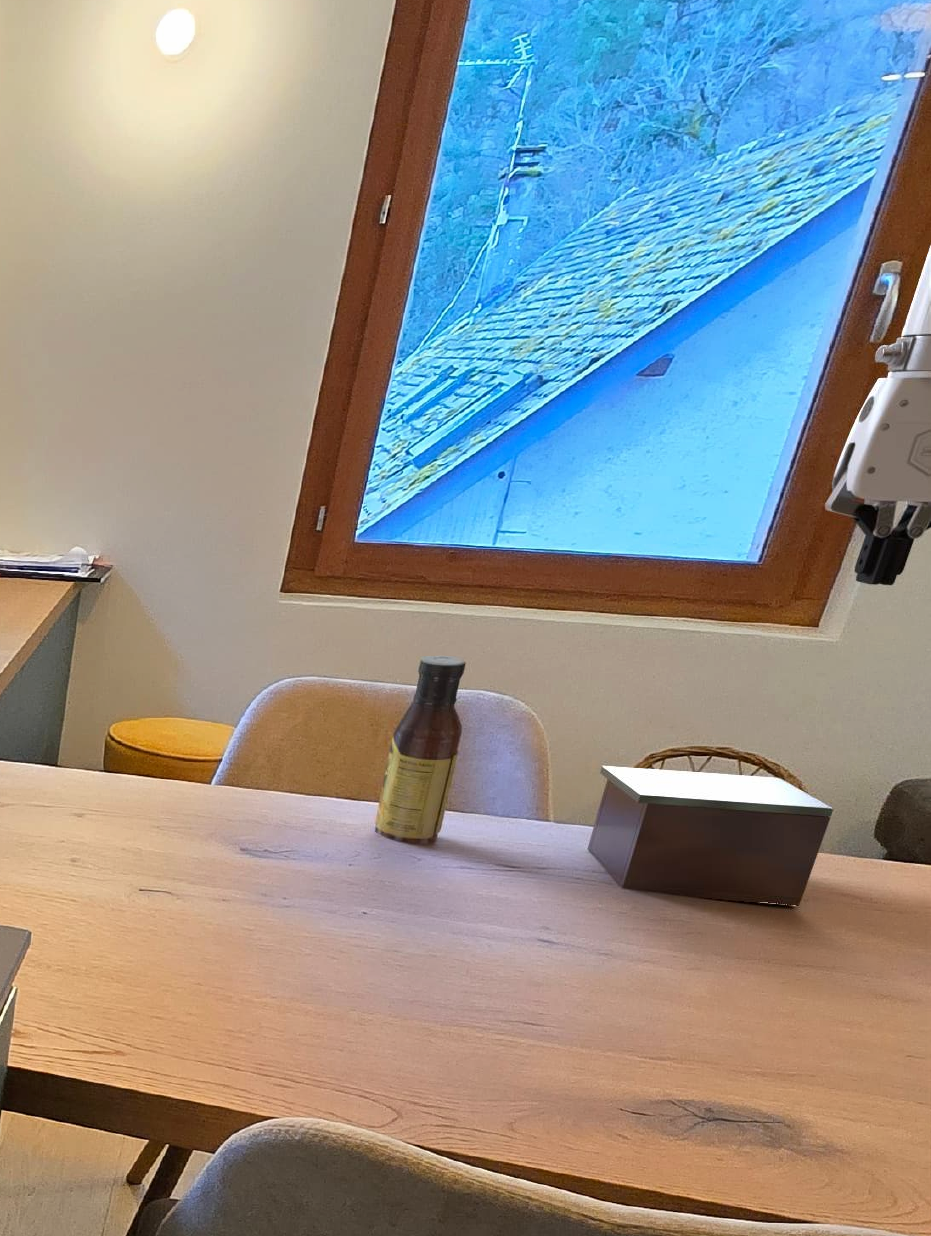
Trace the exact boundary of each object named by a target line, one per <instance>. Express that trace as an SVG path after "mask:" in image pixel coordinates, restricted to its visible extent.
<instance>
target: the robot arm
mask: <svg viewBox="0 0 931 1236" xmlns="http://www.w3.org/2000/svg"><path fill="white" fill-rule="evenodd" d="M925 259H926V260H925V262H924V265H923V268H922V271H921V275H920V278H919V280H918V284H917V286H916V290H915V292H914V296H913V300H912V302H911V304H910V308H909V311H908V314H907V317H906V320H905V323H904V326H903V329H902V331H901V332H902V333H901V336H900V337H897V338H896V341H895V343H891V344H890V345H881V346H879V347H878V349H877V351H876V352H875V356H874V361H875V363H884V364H885V365H888V366H887V368H886V371H889V372H888V375H887V377H880V378H878V379H877V381H876V382H875V384H874V386H873V387H872V389H871V391H869V394H868V396H867V398H866V400H865V402H864V403H863V405H862V407H861V409H860V411H859V413H858V415H857V417H856V419H855V420H854V424H853V426H852V428H851V430H850V432H849V435H848V437H847V439H846V442H845V443H844V444H845V445H843V446H844V447H843V449H842V452H841V454H840V456H839V459H838V462H837V465H836V467H835V471H834V474H833V478H832V484H831V489H832V492H831V494H830V495H829V497H828V499H827V500H826V501H825V504H824V509H825V510H826V511H827V512H828V511H829V512H831V513H832V512H833V513H836V514H840V515H843V516H848V517H850V518H852V520H853V521H854V522H855V524H856V525H857V526H858V527H859V529H860V534H862V535H864V539H863V542H862V544H861V548H860V550H859V552H858V553H859V554H858V556H857V559H856V563H855V565H854V573H855V574H856V577H855V581H856V582H857V583H858V582H859V583H861V584H867V585H870V586H871V585H873V586H875V585H876V586H877V585H883V586H893V585H894V584H895V583H896V580H897V577H898V576H900V575H902V573H903V572H904V571H905V568H906V564H907V560H908V558H909V556H910V553H911V551H912V547H913V544H914V542H915V540H916V539H919V538H921V537H922V536H923V535H924V534H925V532H926V531H928V530H930V529H931V246H930V247H929V250H928V253H927V256H926V258H925ZM855 499H862V500H864V502H860V501H857V500H855ZM898 502H905V504H904V506H903V508H902V510H901V512H900V513H899V515H898V516H897V518H896V521H895V517H896V511H897V505H898Z"/></svg>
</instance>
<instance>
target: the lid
mask: <svg viewBox="0 0 931 1236" xmlns="http://www.w3.org/2000/svg"><path fill="white" fill-rule="evenodd" d="M599 774H600V775H602V776H603V777H604V778H606V780H607V779H608V780H609V781H611V782H612V783H613V784H615V785H616V786H617V787H619V788H620V789H621V790H622V791H624V792H625V793H626V794H628V795H629V796H630V797H632V798H633V799H634V800H635V801H637V802H638V803H649V804H662V805H676V806H690V807H703V808H717V809H730V810H744V811H758V812H771V813H785V814H798V815H812V816H825V817H830V818H831V817H832V814H833V811H834V807H831V806H830V805H828V804H827V803H824V802H823V801H820V799H817V798H815V797H814V796H812V795H810V794H809V793H806V792H805V791H803V790H801V789H800V788H798V787H796V786H795V785H792V784H791V783H789V782H787V781H785V780H784V779H782V778H780V777H774V776H757V775H756V776H755V775H743V774H742V775H741V774H740V775H739V774H727V773H726V774H725V773H715V772H714V773H713V772H712V773H711V772H700V771H699V772H697V771H684V770H683V771H682V770H671V769H670V770H667V769H653V768H641V767H639V768H637V767H625V766H624V767H623V766H611V765H601V768H600V771H599Z"/></svg>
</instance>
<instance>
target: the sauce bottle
mask: <svg viewBox="0 0 931 1236" xmlns="http://www.w3.org/2000/svg"><path fill="white" fill-rule="evenodd" d="M465 669H466V661H465V659H462V658H459V657H455V656H449V655H448V656H447V655H427V656H423V657H422V658H421V659H420V662H419V666H418V670H417V672H418V675H419V676H418V678H417V679H418V680H417V685H416V690H415V693H414V695H413V700H412V701H411V703H410V705H409V707H408V708H407V709H406V712H405V713H404V715H403V716H402V718H401V719H400V721H399V723H398V725H397V726H396V728H395V729H394V731H393V734H392V738H391V742H390V744H391V745H390V748H389V753H388V759H387V762H386V763H387V764H386V768H385V773H384V777H383V781H382V788H381V793H380V797H379V801H378V807H377V811H376V817H375V822H374V827H375V829H374V832H375V833H377V834H378V835H379V836H381V837H384V838H386V839H389V840H393V841H396V842H402V843H406V844H407V843H408V844H414V845H415V844H416V845H433V844H435V843H436V842H437V841H438V835H439V833H440V832H441V830H442V826H443V821H444V818H445V813H446V809H447V804H448V799H449V796H450V795H449V794H450V791H451V786H452V783H453V778H454V772H455V769H456V763H457V760H458V756H459V746H460V741H461V736H462V732H463V726H462V722H461V719H460V715H459V714H458V712H457V709H456V707H455V704H456V703H457V700H458V699H457V696H458V695H457V694H458V691H459V687H460V682H461V679H462V677H463V676H464V673H465Z"/></svg>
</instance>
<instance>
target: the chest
mask: <svg viewBox="0 0 931 1236" xmlns="http://www.w3.org/2000/svg"><path fill="white" fill-rule="evenodd" d="M830 820H831V817H825V816H812V815H798V814H785V813H771V812H758V811H744V810H730V809H717V808H703V807H690V806H676V805H662V804H649V803H638V802H637V801H635V800H634V799H633V798H632V797H630V796H629V795H628V794H626V793H625V792H624V791H622V790H621V789H620V788H619V787H617V786H616V785H615V784H613V783H612V782H611V781H609V780H608V779H607V778H606V783H605V786H604V790H603V793H602V796H601V800H600V803H599V807H598V810H597V814H596V817H595V820H594V823H593V828H592V832H591V835H590V839H589V841H588V846H587V851H589V853H590V854H591V855H592V856H593V857H594V858H595V859H596V861H597V862H598V863H599V864H600V865H601V866H602V868H603V869H604V870H605V871H606V873H607V874H608V875H609V876H610V878H612V879H613V881H614V882H615V883H616V884H617V885H618V886H619V887H620V888H622V889H625V890H630V891H631V890H632V891H639V892H647V893H655V894H662V895H671V896H678V897H686V896H688V897H687V898H696V897H699V898H698V899H701V898H700V897H703V898H702V899H707V898H712V899H711V900H717V899H722V900H721V901H728V900H729V901H730V900H731V901H732V902H739V901H744V902H743V903H750V902H768V903H776V904H777V903H778V904H785V905H786V904H787V905H796V906H799V907H800V905H801V902H802V899H803V896H804V894H805V891H806V888H807V885H808V882H809V879H810V877H811V874H812V871H813V868H814V865H815V863H816V860H817V857H818V854H819V851H820V849H821V846H822V842H823V840H824V838H825V834H826V831H827V829H828V826H829V823H830ZM734 900H735V901H734ZM731 901H730V902H731Z"/></svg>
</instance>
